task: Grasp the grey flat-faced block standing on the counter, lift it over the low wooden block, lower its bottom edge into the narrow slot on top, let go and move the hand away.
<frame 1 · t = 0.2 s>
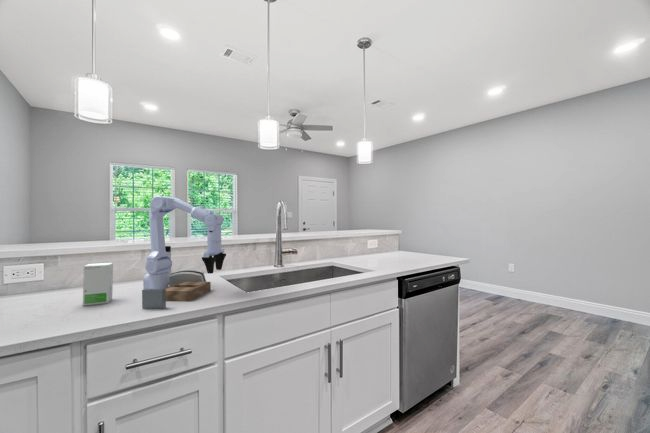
hand: (214, 271, 119), 10 cm above the worktop, tool pointing down, fingers open, 7 cm apart
grey arched slab: (188, 288, 131), on the worktop
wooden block: (185, 295, 118), on the worktop
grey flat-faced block: (154, 308, 102), on the worktop
travel mug: (164, 284, 137), on the worktop
skincare box: (98, 302, 109), on the worktop
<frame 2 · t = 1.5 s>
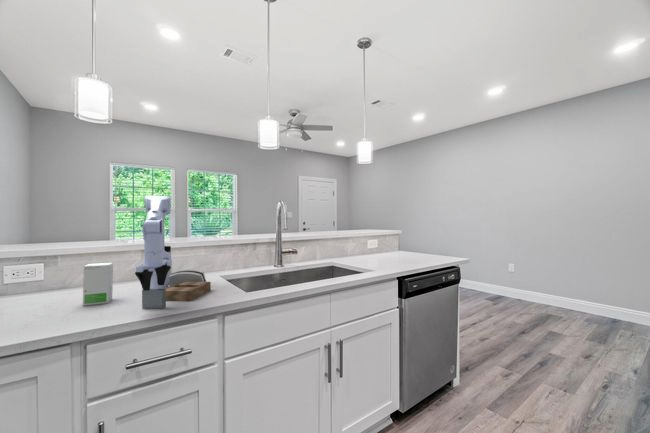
hand: (153, 287, 101), 8 cm above the worktop, tool pointing down, fingers open, 7 cm apart
nothing on the worktop moved.
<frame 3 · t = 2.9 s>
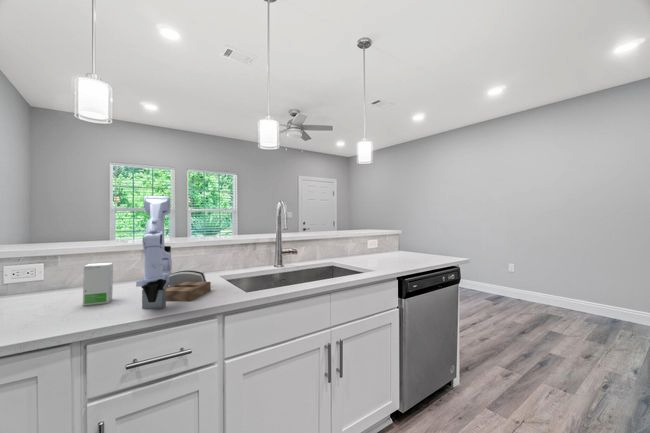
hand: (154, 300, 102), 3 cm above the worktop, tool pointing down, fingers closed on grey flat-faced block, 2 cm apart
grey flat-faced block: (154, 307, 102), on the worktop, touching gripper
everything else where it was.
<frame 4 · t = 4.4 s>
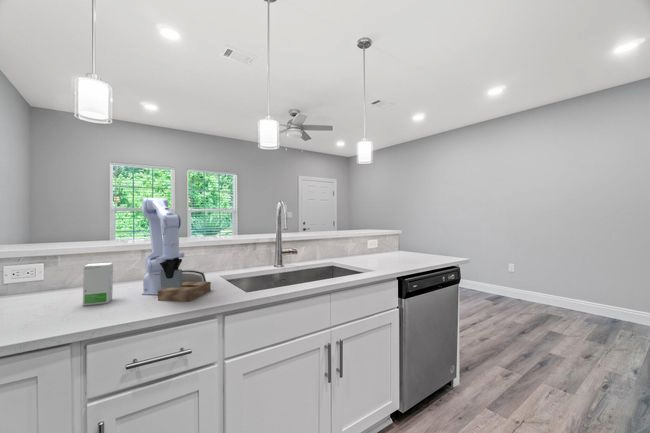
hand: (171, 277, 110), 10 cm above the worktop, tool pointing down, fingers closed on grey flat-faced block
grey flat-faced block: (171, 286, 110), point 6 cm above the worktop, touching gripper
everything else where it was.
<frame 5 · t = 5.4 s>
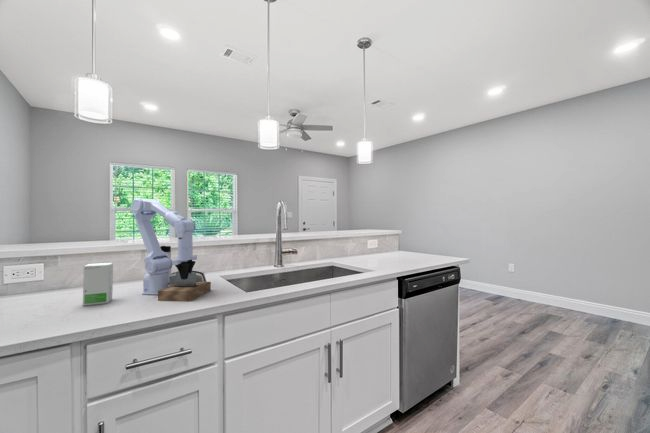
hand: (185, 278, 118), 7 cm above the worktop, tool pointing down, fingers closed on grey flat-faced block
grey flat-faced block: (186, 288, 118), point 3 cm above the worktop, touching gripper
everything else where it was.
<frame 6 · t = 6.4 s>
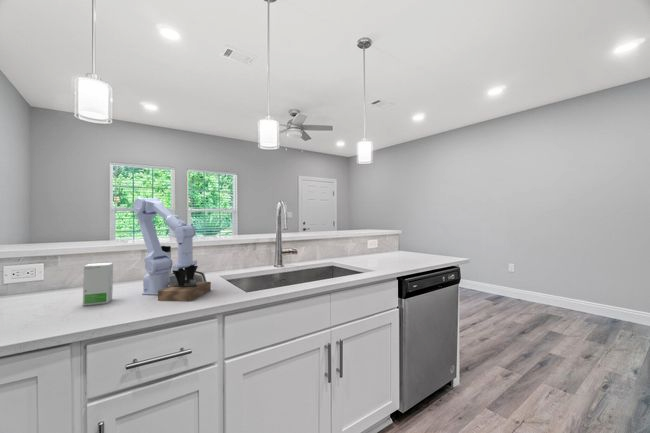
hand: (185, 283, 118), 5 cm above the worktop, tool pointing down, fingers open, 5 cm apart
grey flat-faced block: (186, 295, 118), resting in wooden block
everything else where it was.
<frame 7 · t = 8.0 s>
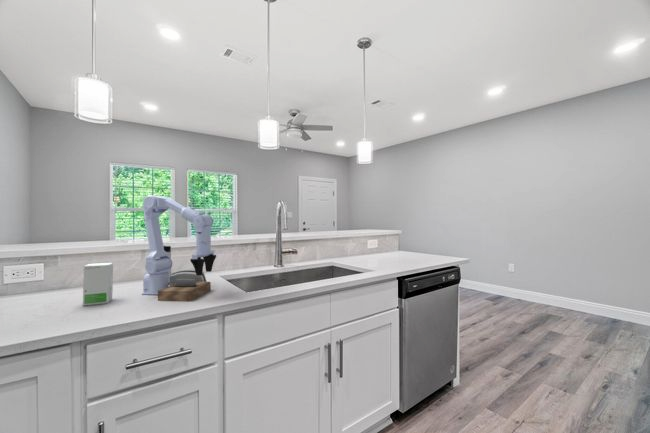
hand: (204, 273, 117), 10 cm above the worktop, tool pointing down, fingers open, 7 cm apart
nothing on the worktop moved.
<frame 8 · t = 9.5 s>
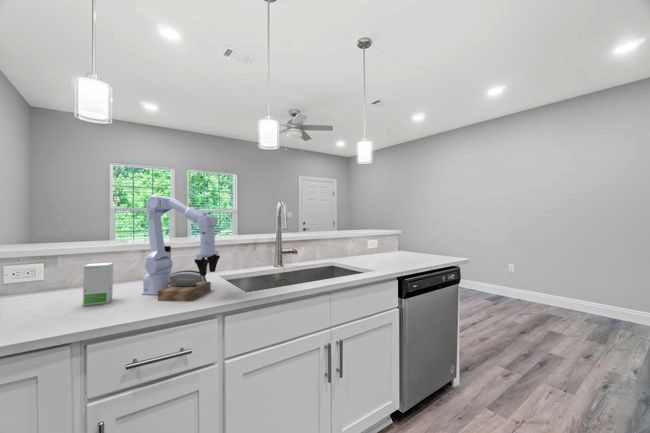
hand: (207, 273, 117), 9 cm above the worktop, tool pointing down, fingers open, 7 cm apart
nothing on the worktop moved.
at the end: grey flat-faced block 0.1 cm off-centre on the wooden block, point 0.0 cm above the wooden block's base; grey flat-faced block tilted 0°; the gripper is holding nothing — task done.
